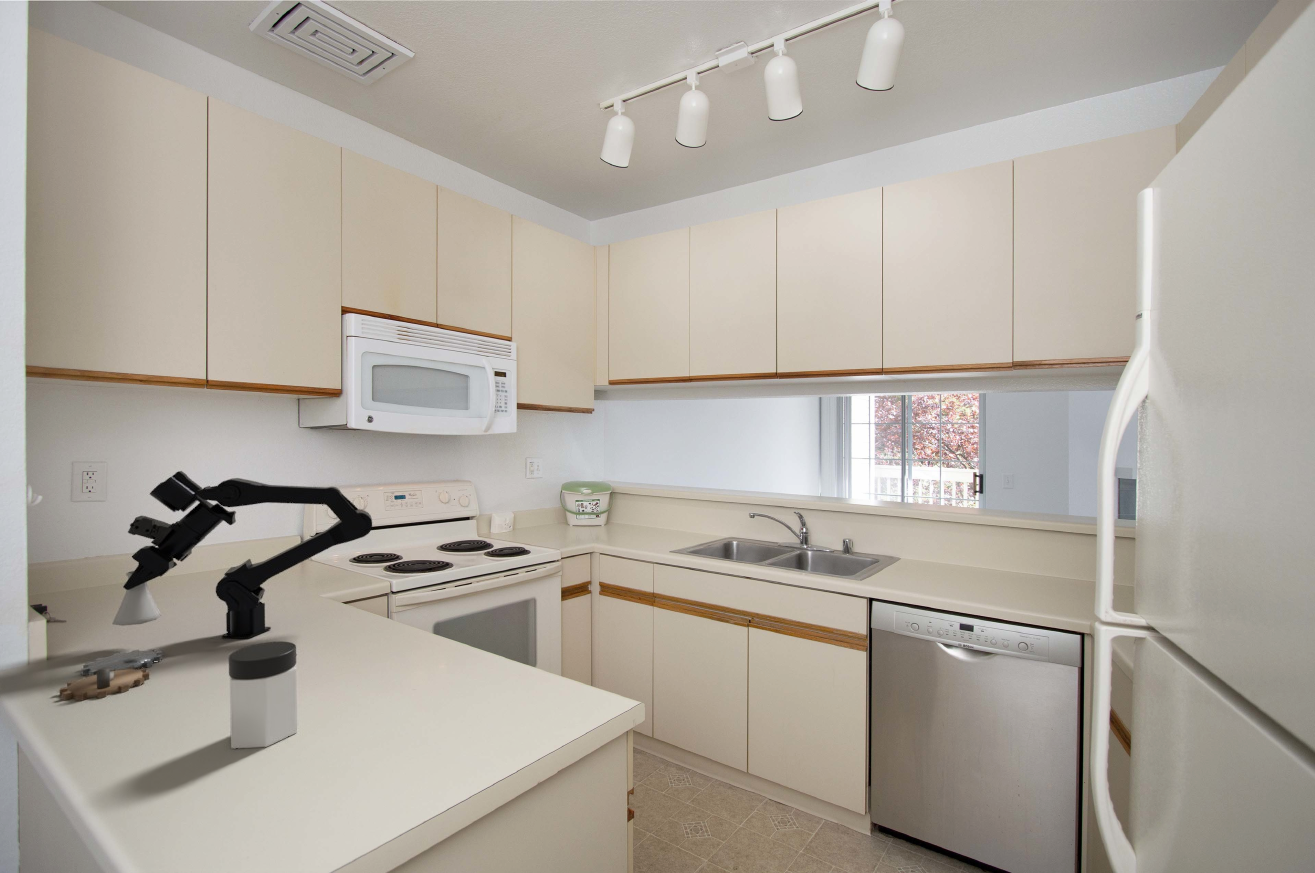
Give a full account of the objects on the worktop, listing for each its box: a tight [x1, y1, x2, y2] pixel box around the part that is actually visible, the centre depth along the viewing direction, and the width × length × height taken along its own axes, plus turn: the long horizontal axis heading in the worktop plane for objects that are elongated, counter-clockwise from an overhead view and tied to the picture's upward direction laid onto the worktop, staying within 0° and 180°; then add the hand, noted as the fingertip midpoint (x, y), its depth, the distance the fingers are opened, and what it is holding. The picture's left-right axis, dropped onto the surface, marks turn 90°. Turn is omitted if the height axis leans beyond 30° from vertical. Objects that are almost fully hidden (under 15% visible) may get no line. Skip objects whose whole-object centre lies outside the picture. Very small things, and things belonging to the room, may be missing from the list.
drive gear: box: [59, 667, 150, 702], centre depth 105 cm, size 11×11×4 cm
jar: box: [228, 640, 299, 750], centre depth 88 cm, size 9×8×12 cm
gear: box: [81, 648, 163, 677], centre depth 115 cm, size 11×11×1 cm
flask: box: [112, 570, 162, 627], centre depth 124 cm, size 7×7×10 cm
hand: (128, 586), depth 124 cm, fingers closed on flask, 3 cm apart
